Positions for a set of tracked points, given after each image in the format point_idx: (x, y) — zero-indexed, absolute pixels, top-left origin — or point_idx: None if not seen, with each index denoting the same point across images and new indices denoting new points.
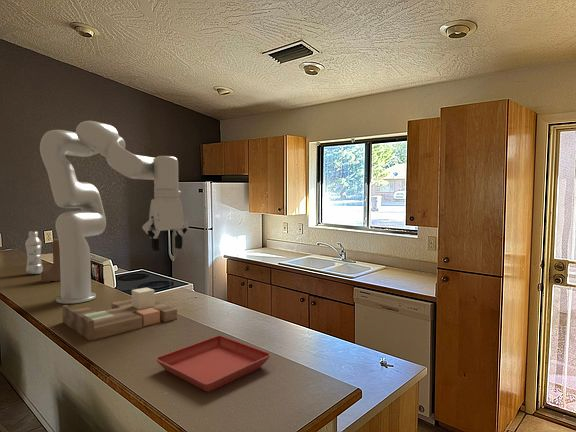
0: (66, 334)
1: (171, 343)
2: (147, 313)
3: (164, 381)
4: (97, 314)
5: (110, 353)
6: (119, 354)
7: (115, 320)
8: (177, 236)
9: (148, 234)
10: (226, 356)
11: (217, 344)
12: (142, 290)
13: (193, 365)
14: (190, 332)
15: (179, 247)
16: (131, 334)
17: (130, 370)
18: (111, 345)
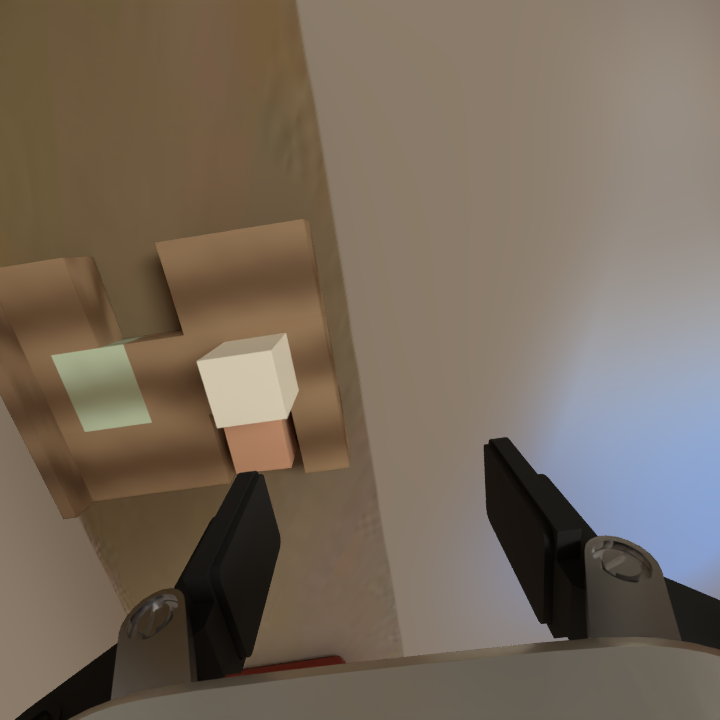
0: None
1: (274, 587)
2: (250, 469)
3: None
4: (100, 378)
5: (148, 571)
6: (164, 584)
7: (152, 470)
8: (555, 581)
9: (73, 695)
10: None
11: (340, 662)
12: (239, 396)
13: None
14: (336, 555)
15: (490, 519)
16: (205, 494)
17: None
18: (152, 534)
